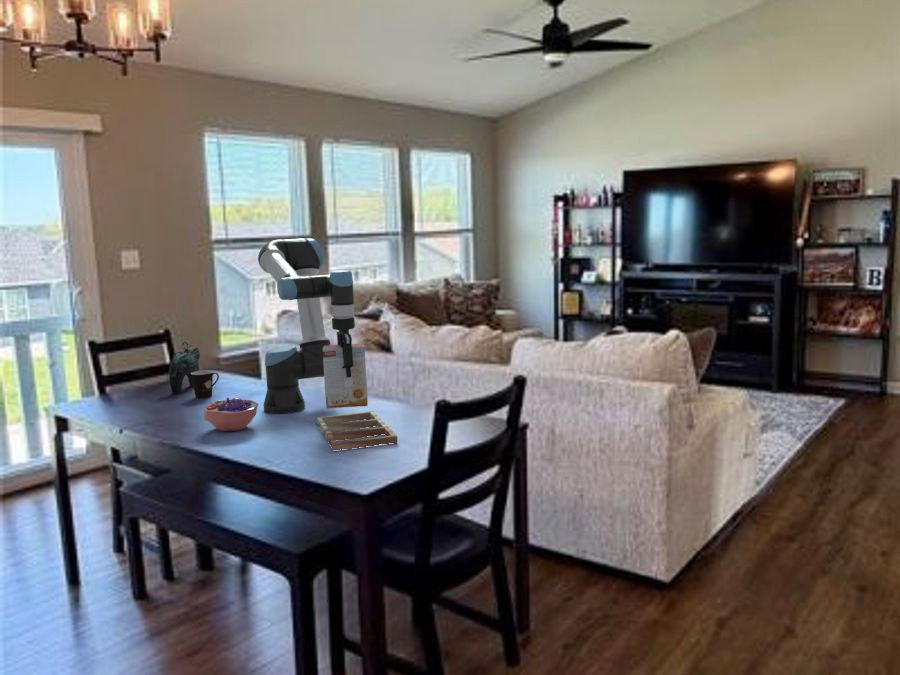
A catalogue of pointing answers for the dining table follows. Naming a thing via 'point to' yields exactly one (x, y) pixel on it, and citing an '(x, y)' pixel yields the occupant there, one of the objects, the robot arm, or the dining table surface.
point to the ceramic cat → (183, 367)
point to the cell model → (230, 413)
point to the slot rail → (348, 425)
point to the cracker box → (335, 377)
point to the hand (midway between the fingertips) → (346, 383)
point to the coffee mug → (203, 383)
